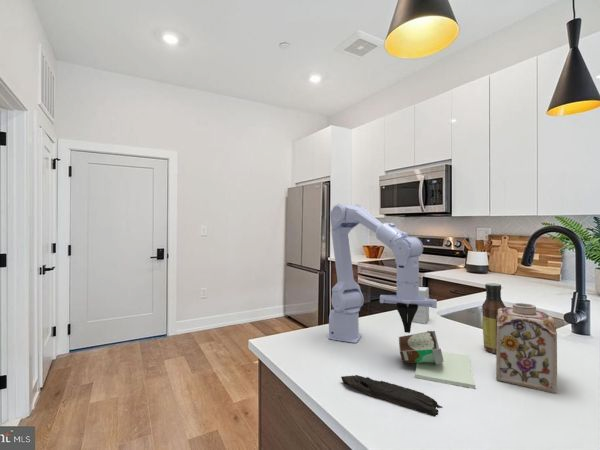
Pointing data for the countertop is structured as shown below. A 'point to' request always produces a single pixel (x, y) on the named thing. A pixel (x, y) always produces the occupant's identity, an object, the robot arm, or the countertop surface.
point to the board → (448, 370)
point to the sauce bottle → (491, 315)
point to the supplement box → (422, 308)
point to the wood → (394, 394)
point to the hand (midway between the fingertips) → (407, 331)
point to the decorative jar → (526, 347)
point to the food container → (420, 348)
